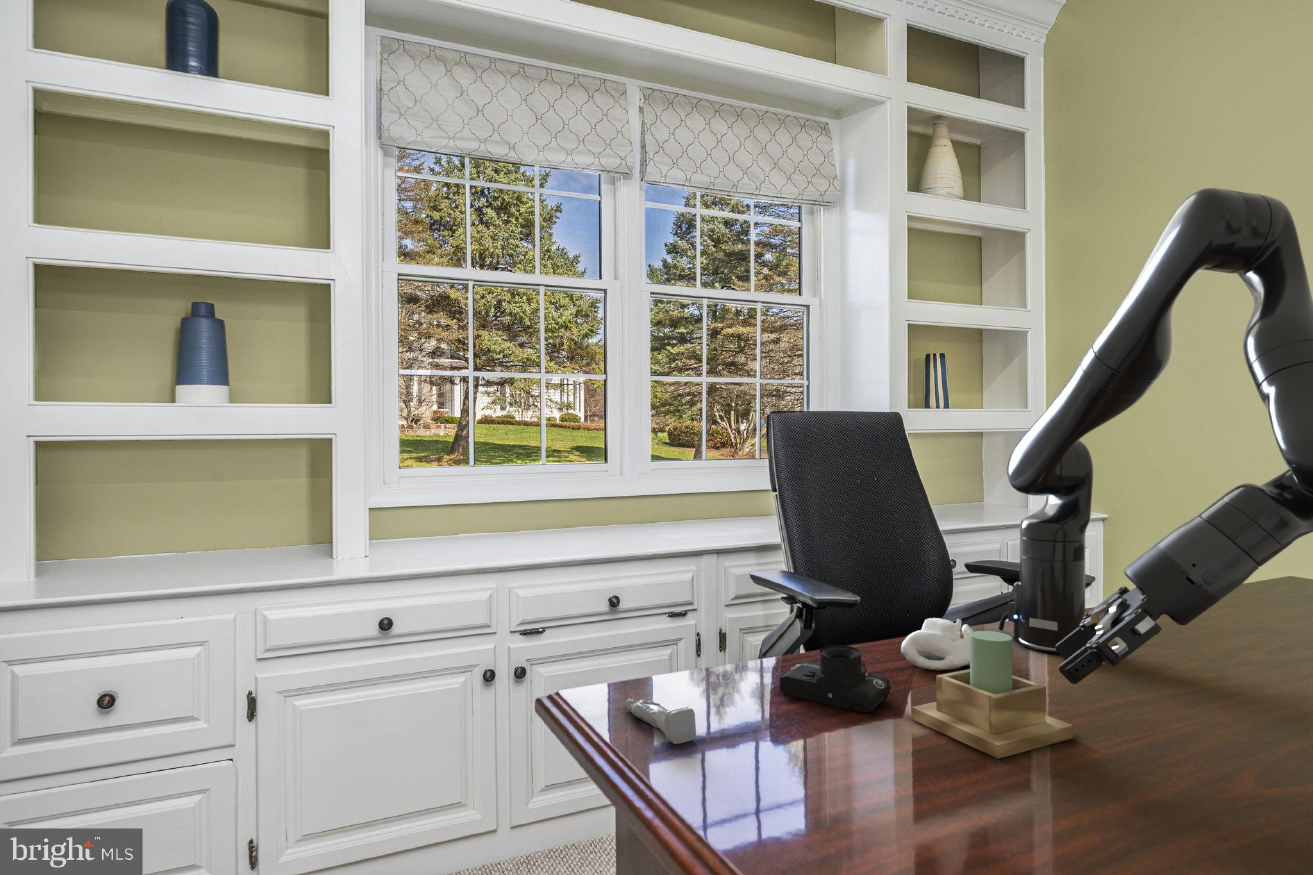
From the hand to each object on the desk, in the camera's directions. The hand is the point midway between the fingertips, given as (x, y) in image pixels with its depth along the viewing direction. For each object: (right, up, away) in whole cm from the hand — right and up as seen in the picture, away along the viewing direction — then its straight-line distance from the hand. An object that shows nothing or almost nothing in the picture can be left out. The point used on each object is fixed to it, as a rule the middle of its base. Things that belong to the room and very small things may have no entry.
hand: (1063, 665), depth 82 cm
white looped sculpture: (-2, -8, +27) cm, 28 cm away
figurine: (-45, -8, +4) cm, 46 cm away
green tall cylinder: (-7, -7, +3) cm, 10 cm away
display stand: (-7, -8, +3) cm, 11 cm away
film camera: (-22, -8, +14) cm, 27 cm away
